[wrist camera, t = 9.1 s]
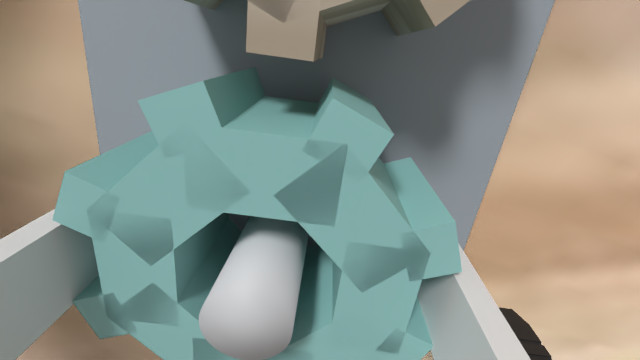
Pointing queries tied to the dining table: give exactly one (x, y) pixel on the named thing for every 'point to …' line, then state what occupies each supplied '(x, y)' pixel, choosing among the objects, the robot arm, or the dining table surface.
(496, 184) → the dining table surface
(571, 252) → the dining table surface
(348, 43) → the gear board
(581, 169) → the dining table surface
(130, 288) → the gear
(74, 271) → the robot arm
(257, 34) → the gear
